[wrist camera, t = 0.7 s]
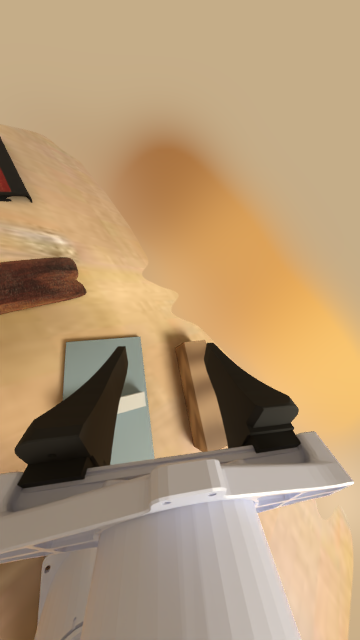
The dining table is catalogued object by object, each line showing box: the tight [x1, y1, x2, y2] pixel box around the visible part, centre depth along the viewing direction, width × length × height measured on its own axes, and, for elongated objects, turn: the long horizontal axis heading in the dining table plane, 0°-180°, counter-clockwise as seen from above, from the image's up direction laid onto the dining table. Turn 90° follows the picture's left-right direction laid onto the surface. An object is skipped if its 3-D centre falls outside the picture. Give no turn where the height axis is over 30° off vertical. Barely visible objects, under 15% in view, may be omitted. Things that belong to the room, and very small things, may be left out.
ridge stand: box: [63, 337, 154, 465], centre depth 23 cm, size 22×12×4 cm, turn 13°
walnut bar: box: [175, 340, 228, 452], centre depth 29 cm, size 18×5×5 cm, turn 12°
